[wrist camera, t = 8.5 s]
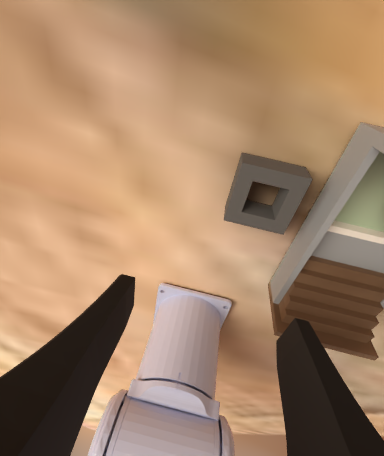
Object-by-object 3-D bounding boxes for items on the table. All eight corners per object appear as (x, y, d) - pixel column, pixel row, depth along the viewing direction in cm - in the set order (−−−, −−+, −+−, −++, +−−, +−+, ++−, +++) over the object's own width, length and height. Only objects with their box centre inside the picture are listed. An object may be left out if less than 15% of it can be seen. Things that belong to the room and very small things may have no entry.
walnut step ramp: (349, 304, 23) (374, 360, 19) (268, 284, 23) (274, 334, 19) (388, 265, 19) (428, 321, 15) (292, 242, 20) (306, 291, 16)
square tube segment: (279, 219, 19) (283, 234, 17) (225, 206, 19) (223, 220, 17) (305, 167, 16) (312, 179, 14) (241, 152, 16) (242, 162, 15)
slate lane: (352, 301, 22) (374, 348, 19) (270, 281, 23) (275, 323, 19) (496, 153, 14) (587, 186, 10) (360, 122, 14) (402, 144, 10)
